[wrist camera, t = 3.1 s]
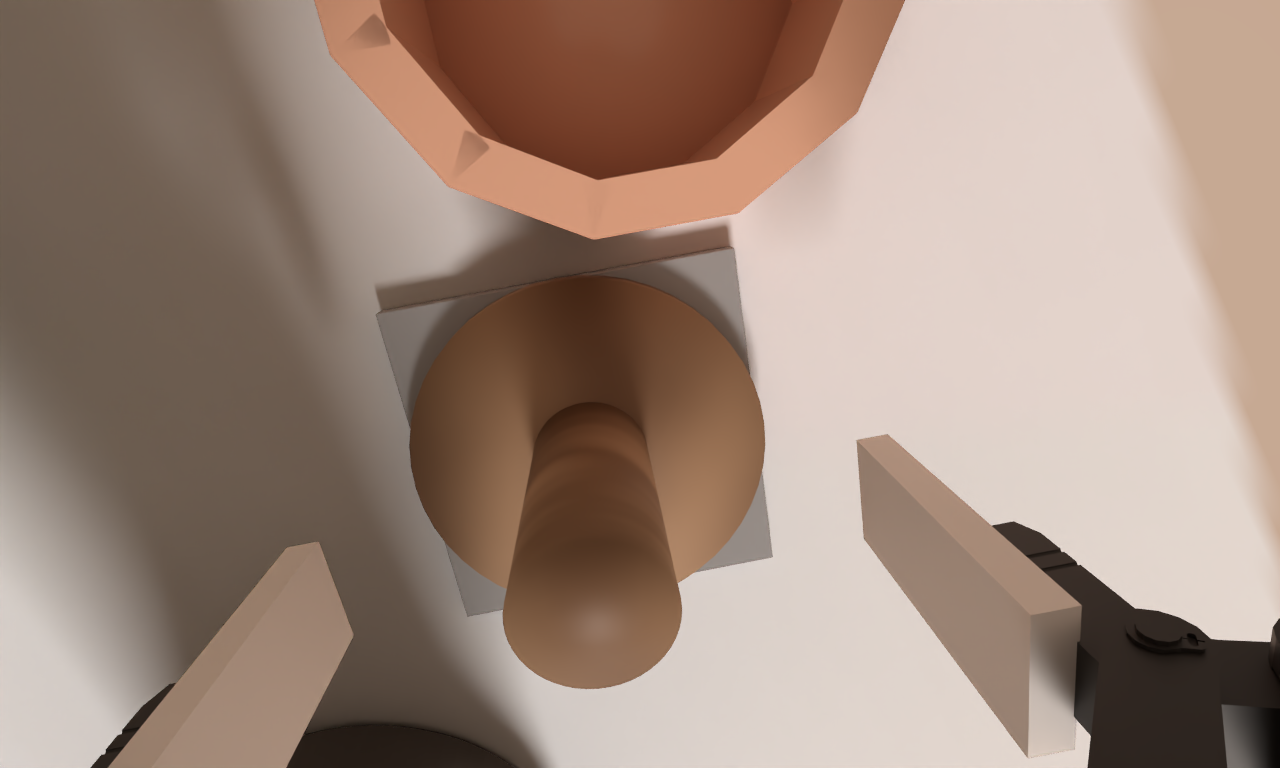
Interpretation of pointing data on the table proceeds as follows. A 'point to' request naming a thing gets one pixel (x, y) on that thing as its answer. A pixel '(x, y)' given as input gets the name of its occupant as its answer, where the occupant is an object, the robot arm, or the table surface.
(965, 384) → the table surface
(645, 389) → the lid
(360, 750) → the robot arm
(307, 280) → the table surface
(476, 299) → the mat
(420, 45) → the bowl
